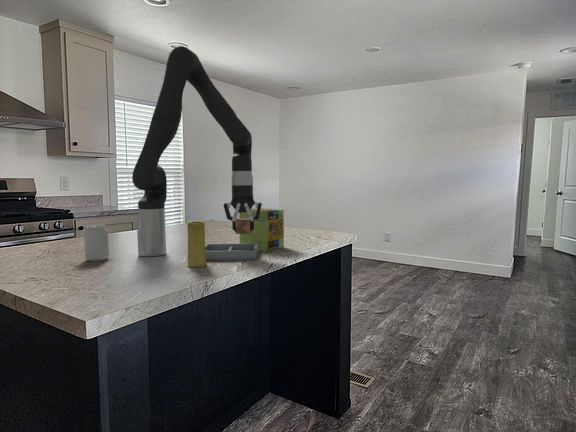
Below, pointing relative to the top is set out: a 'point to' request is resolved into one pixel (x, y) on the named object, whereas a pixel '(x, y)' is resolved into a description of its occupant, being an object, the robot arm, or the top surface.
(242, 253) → the tray
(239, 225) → the walnut cube
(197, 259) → the vase
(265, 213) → the protein box
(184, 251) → the top surface
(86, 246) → the can
